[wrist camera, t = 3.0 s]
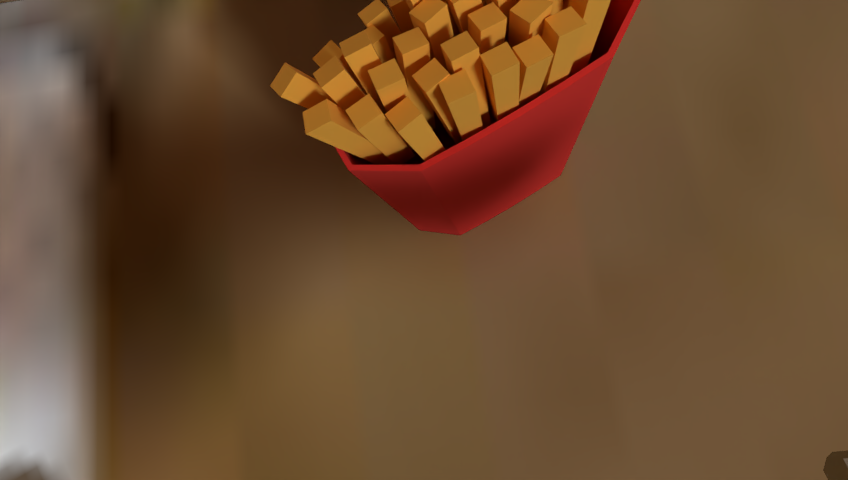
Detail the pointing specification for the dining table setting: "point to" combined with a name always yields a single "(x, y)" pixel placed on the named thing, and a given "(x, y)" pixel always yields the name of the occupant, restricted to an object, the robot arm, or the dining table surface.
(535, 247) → the dining table surface
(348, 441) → the dining table surface
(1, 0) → the caddy
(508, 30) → the french fries
